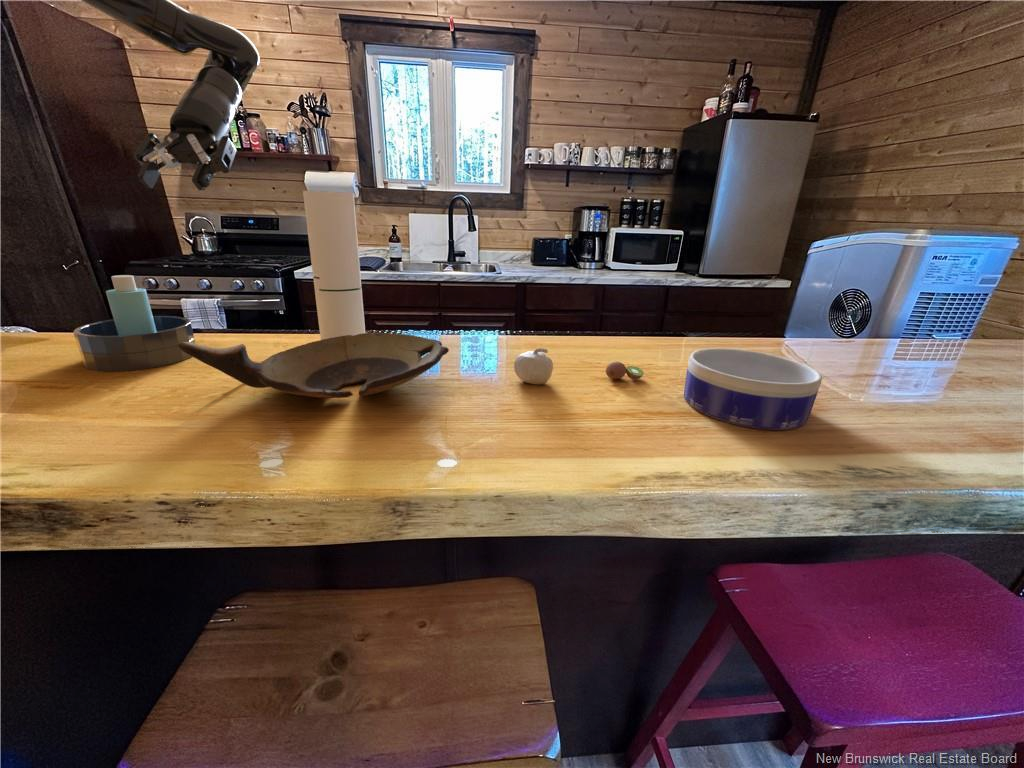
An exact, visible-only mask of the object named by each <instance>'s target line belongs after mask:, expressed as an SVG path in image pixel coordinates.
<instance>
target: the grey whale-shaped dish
mask: <svg viewBox="0 0 1024 768" xmlns="http://www.w3.org/2000/svg"><path fill="white" fill-rule="evenodd" d="M179 348H180V349H181V350H182V351H183V352H185V353H187V354H189V355H190V356H192V357H191V358H194V359H196V360H198V361H199V362H201V363H203V364H206V365H208V366H209V367H211V368H213V369H216V370H218V371H220V372H222V373H223V374H225V375H226V376H229V377H231V378H232V379H234V380H236V381H238V382H239V383H242V384H243V385H245V386H248V387H250V388H256V389H265V388H271V389H273V390H277V391H279V392H283V393H287V394H291V395H296V396H304V397H312V398H320V399H346V398H350V397H352V396H354V393H353V392H352V391H351V390H339V389H340V388H342V387H345V386H350V385H354V384H355V385H356V384H361V383H363V384H362V387H361V388H359V390H358V395H359V396H361V397H363V396H364V397H365V396H369V395H374V394H377V393H381V392H384V391H387V390H390V389H393V388H396V387H398V386H401V385H403V384H406V383H407V382H410V381H411V380H414V379H415V378H417V377H419V376H420V375H423V374H424V373H426V372H427V371H428V370H430V369H432V368H433V367H434V366H436V365H437V364H438V363H439V362H440V361H441V360H442V357H444V355H446V354H448V353H449V352H450V349H449V348H448V347H447V346H443V343H442V342H441V341H440V340H437V339H433V338H432V339H431V338H427V337H423V336H418V335H412V334H405V333H394V332H393V333H390V332H381V333H377V332H365V333H363V334H358V335H354V336H352V335H346V336H340V337H334V338H329V339H324V340H321V339H319V340H315V341H311V342H307V343H303V344H301V345H297V346H294V347H293V348H292V347H291V348H288V349H285V350H282V351H280V352H276V353H274V354H272V355H270V356H269V357H267V358H265V359H264V360H263V361H261V362H258V361H253V360H252V359H251V358H250V356H249V355H248V352H247V351H248V350H247V347H246V345H245V344H243V343H240V344H237V345H234V346H230V347H221V348H220V347H211V346H206V345H202V344H198V343H196V344H195V343H191V342H181V343H180V344H179Z"/></svg>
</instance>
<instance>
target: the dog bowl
mask: <svg viewBox="0 0 1024 768" xmlns="http://www.w3.org/2000/svg"><path fill="white" fill-rule="evenodd" d="M822 381H823V376H822V375H821V373H820V372H819V371H818V370H817V369H814V368H813V367H811V366H809V365H807V364H804V363H802V362H799V361H796V360H793V359H792V358H791V359H790V358H788V357H784V356H780V355H776V354H772V353H771V354H770V353H766V352H762V351H756V350H749V349H741V348H726V347H725V348H724V347H713V348H712V347H710V348H709V347H708V348H702V349H698V350H695V351H693V352H692V353H691V354H690V355H689V357H688V362H687V368H686V374H685V382H684V389H683V398H684V400H685V402H686V403H687V404H688V405H689V406H690V407H692V408H694V410H697V411H698V412H700V413H702V414H704V415H706V416H709V417H711V418H714V419H716V420H719V421H722V422H725V423H729V424H733V425H738V426H741V427H747V428H753V429H756V430H757V429H758V430H771V431H785V430H793V429H794V430H795V429H797V428H798V429H799V428H801V427H802V426H804V425H806V423H808V420H809V418H810V415H811V413H812V410H813V408H814V405H815V402H816V398H817V395H818V393H819V389H820V387H821V385H822Z"/></svg>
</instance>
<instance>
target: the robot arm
mask: <svg viewBox="0 0 1024 768" xmlns="http://www.w3.org/2000/svg"><path fill="white" fill-rule="evenodd" d="M81 1H82V2H83V3H85V4H87V5H89V6H91V7H92V8H95V9H97V10H98V11H100V12H102V13H104V14H105V15H108V16H110V17H111V18H113V19H115V20H116V21H118V22H120V23H122V24H124V25H125V26H127V27H129V28H131V29H133V30H134V31H136V32H137V33H140V34H141V35H143V36H145V37H147V38H149V39H151V40H152V41H154V42H156V43H158V44H159V45H161V46H164V47H165V48H168V49H169V50H171V51H172V52H174V53H177V54H179V55H181V56H184V57H185V56H190V55H191V54H192V53H193V52H194V51H196V50H198V49H202V50H206V51H209V52H208V54H207V56H206V58H205V61H204V63H203V66H202V67H201V68H200V69H199V71H198V72H197V73H196V75H195V77H194V78H193V80H192V82H191V84H190V85H189V87H188V88H187V89H186V90H185V91H184V92H183V95H182V96H181V98H180V99H179V102H178V104H177V105H176V108H175V109H174V111H173V113H172V115H171V117H170V118H169V130H170V132H169V133H168V134H167V135H165V136H164V137H157V135H155V133H154V132H148V133H147V134H146V135H145V137H144V138H143V139H142V141H141V143H140V144H139V146H138V147H137V149H136V150H135V152H134V153H133V157H134V159H135V160H136V161H137V162H138V163H139V164H140V165H141V168H140V170H139V171H138V173H137V179H138V180H139V182H141V185H143V186H144V187H145V188H146V189H154V187H155V185H156V183H157V181H158V178H159V177H160V175H161V172H163V171H165V170H167V168H170V169H174V168H176V167H178V166H179V165H181V164H192V165H197V167H196V169H195V171H194V173H193V176H192V178H191V182H192V184H193V185H194V186H195V188H197V190H198V191H206V189H207V188H208V187H209V186H210V185H211V183H212V180H213V177H215V176H217V175H218V174H219V172H222V173H223V174H228V173H230V171H231V169H232V165H233V164H234V163H233V162H234V159H235V157H236V154H237V148H236V147H235V145H234V144H233V142H232V141H231V139H230V138H229V136H228V135H229V132H230V131H231V128H232V125H233V123H234V120H235V119H234V118H235V115H236V114H237V113H236V112H237V111H238V108H239V106H240V104H241V100H242V96H243V94H244V92H245V90H246V89H247V87H248V85H249V83H250V81H251V79H252V78H253V76H254V73H255V72H256V70H257V68H258V67H259V64H260V54H259V51H258V49H257V47H256V46H255V44H254V43H253V42H252V41H251V40H250V39H249V38H248V37H247V35H245V34H244V33H242V32H241V31H240V30H238V29H236V28H235V27H232V26H230V25H227V24H225V23H222V22H219V21H217V20H213V19H211V18H208V17H206V16H202V15H200V14H197V13H195V12H191V11H189V10H186V9H184V8H183V7H181V6H180V5H178V4H177V3H176V2H174V1H172V0H81ZM165 151H167V152H168V153H169V155H170V156H171V157H172V159H169V157H168V156H167V155H166V153H165ZM213 155H214V156H213ZM212 156H213V159H211V157H212ZM159 158H160V159H161V162H159V163H157V161H158V159H159Z"/></svg>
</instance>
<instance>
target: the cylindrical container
mask: <svg viewBox="0 0 1024 768" xmlns="http://www.w3.org/2000/svg"><path fill="white" fill-rule="evenodd" d="M302 196H303V205H304V213H305V222H306V230H307V237H308V239H307V240H308V247H309V254H310V263H311V271H312V276H313V278H312V279H313V286H314V287H313V288H314V295H315V303H316V312H317V321H318V328H319V337H320V340H324V339H329V338H334V337H340V336H346V335H352V336H354V335H358V334H363V333H366V325H365V312H364V302H363V301H364V299H363V289H362V288H363V287H362V275H361V264H360V254H359V253H360V252H359V240H358V239H359V238H358V231H357V230H358V228H357V216H356V204H355V194H354V193H353V192H342V191H328V190H327V191H326V190H302Z"/></svg>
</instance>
